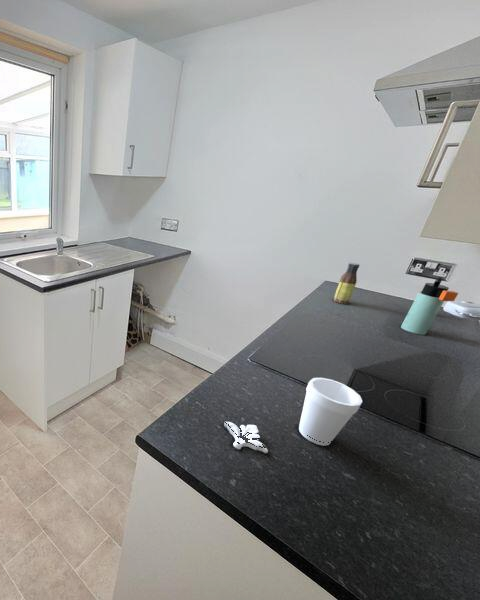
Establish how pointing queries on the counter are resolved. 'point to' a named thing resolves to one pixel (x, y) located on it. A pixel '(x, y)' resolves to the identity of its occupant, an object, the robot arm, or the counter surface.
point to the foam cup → (327, 409)
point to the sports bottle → (424, 308)
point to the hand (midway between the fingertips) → (465, 303)
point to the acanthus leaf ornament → (246, 429)
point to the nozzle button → (448, 295)
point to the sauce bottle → (346, 284)
